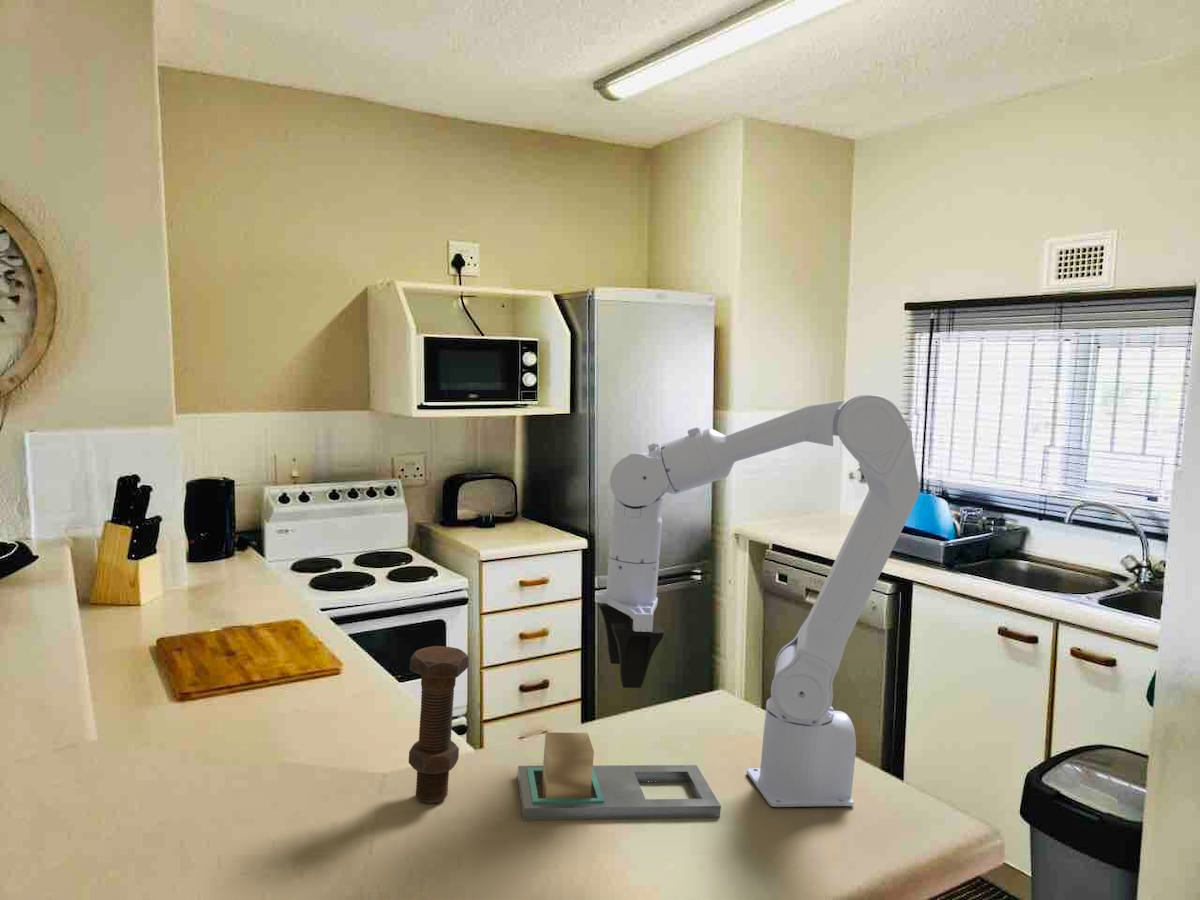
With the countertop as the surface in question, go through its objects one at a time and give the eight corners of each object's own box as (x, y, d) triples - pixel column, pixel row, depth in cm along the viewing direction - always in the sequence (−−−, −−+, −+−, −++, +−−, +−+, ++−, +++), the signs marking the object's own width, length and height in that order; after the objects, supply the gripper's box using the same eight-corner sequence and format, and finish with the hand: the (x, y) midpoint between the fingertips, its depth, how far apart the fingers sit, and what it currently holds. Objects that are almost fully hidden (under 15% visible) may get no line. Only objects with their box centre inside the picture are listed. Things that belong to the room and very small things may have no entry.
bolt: (443, 816, 82) (453, 666, 81) (395, 807, 83) (404, 659, 82) (465, 789, 88) (474, 648, 86) (419, 781, 89) (427, 642, 87)
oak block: (583, 786, 90) (587, 732, 90) (589, 808, 86) (593, 751, 85) (541, 787, 89) (545, 732, 89) (545, 808, 85) (549, 751, 84)
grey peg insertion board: (695, 775, 94) (696, 763, 94) (719, 817, 86) (721, 804, 85) (517, 776, 91) (518, 764, 91) (523, 820, 82) (524, 806, 82)
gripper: (589, 543, 102) (581, 652, 103) (610, 571, 88) (601, 698, 89) (646, 546, 103) (638, 653, 104) (676, 574, 89) (665, 698, 90)
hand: (625, 674), depth 97 cm, fingers open, 7 cm apart
